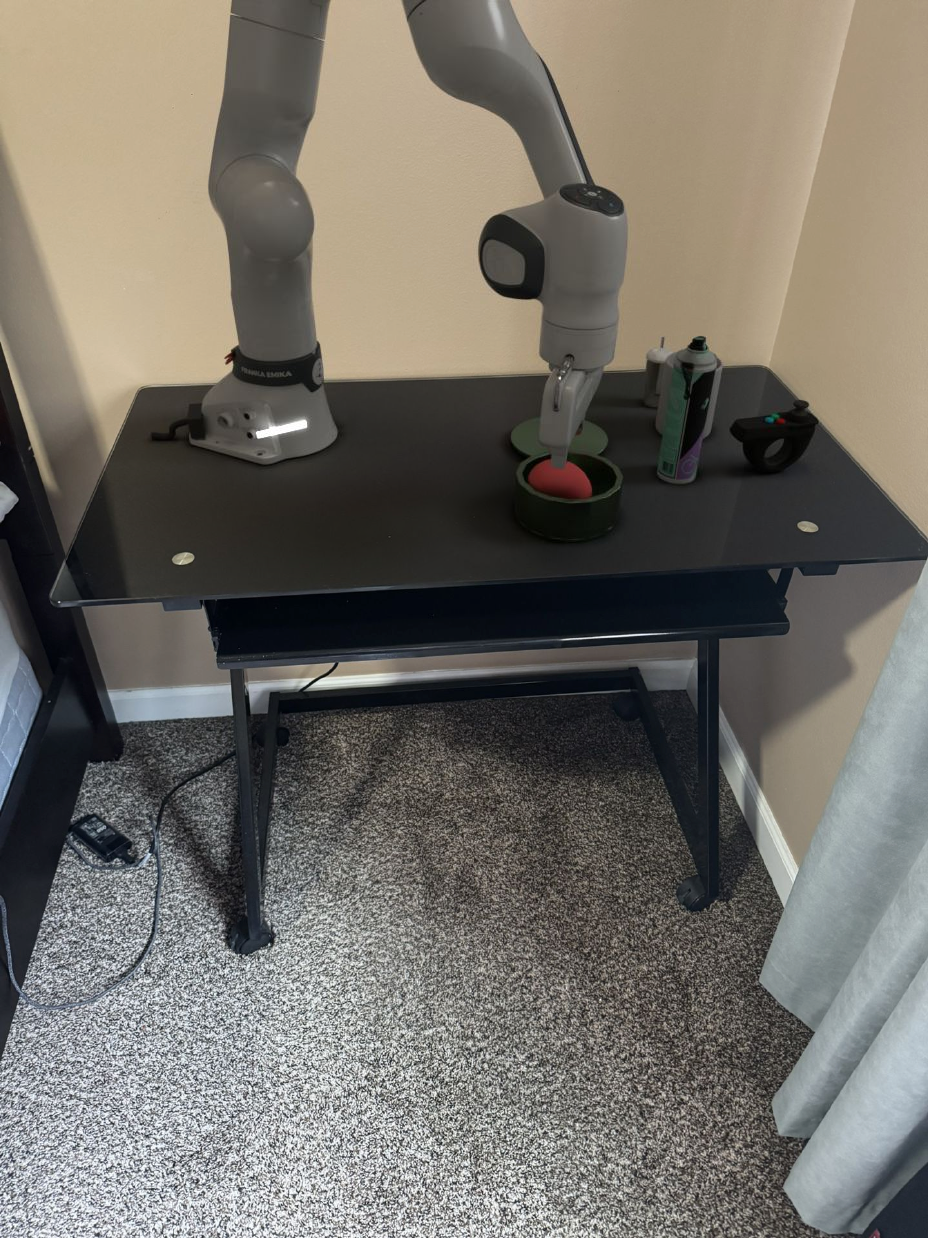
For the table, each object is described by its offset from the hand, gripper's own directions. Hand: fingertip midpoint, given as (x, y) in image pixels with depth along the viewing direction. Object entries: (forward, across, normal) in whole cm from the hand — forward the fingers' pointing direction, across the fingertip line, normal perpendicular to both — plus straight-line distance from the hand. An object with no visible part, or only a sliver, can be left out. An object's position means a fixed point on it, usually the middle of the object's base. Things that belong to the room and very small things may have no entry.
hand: (567, 448), depth 110 cm
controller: (+10, +21, -25) cm, 34 cm away
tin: (+10, +1, -1) cm, 10 cm away
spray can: (+10, +16, -13) cm, 23 cm away
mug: (+10, +29, -13) cm, 33 cm away
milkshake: (+10, +39, -7) cm, 41 cm away
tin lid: (+9, +20, +5) cm, 23 cm away
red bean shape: (+7, 0, +2) cm, 8 cm away
